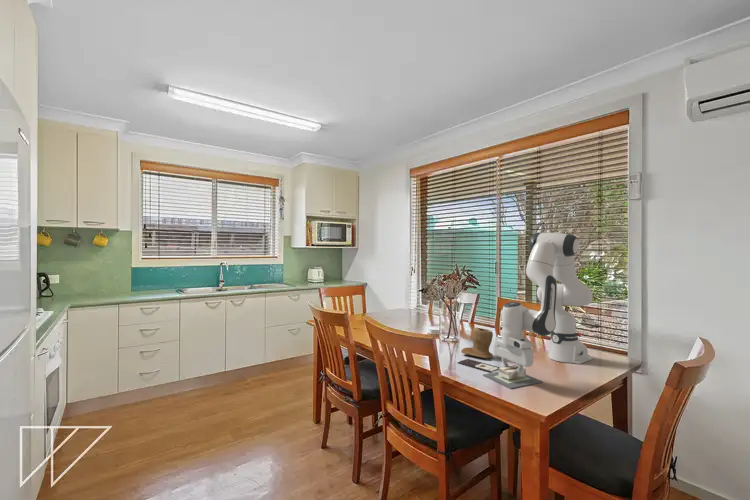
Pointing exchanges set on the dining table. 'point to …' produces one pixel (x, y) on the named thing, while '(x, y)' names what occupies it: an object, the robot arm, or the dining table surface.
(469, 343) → the dining table surface
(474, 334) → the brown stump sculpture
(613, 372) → the dining table surface
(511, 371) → the cream block
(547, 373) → the dining table surface
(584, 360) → the robot arm
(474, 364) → the chocolate bar
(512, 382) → the mat
